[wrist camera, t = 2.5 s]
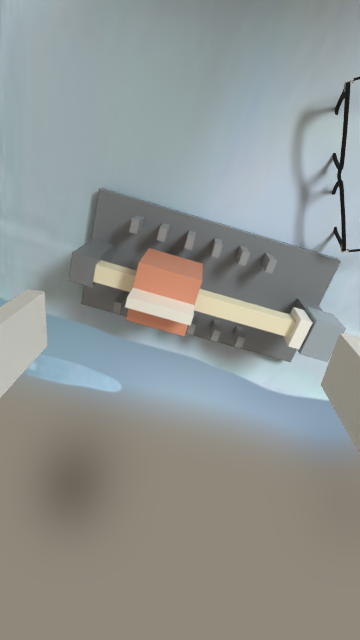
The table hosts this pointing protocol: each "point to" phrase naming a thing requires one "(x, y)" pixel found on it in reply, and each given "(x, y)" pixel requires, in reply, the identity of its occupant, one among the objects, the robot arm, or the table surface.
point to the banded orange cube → (164, 292)
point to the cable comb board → (204, 267)
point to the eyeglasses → (342, 163)
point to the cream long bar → (250, 314)
